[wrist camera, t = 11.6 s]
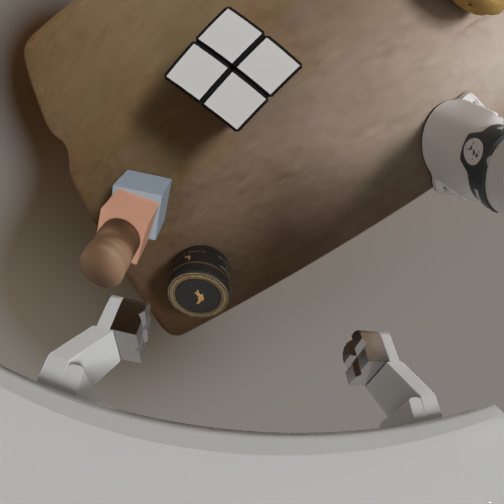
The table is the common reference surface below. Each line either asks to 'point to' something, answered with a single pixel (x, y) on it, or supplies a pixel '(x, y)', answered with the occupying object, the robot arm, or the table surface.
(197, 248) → the jar
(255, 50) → the puzzle cube
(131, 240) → the walnut cylinder
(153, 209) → the top block
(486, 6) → the pot
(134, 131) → the table surface
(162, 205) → the base block
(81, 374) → the robot arm
